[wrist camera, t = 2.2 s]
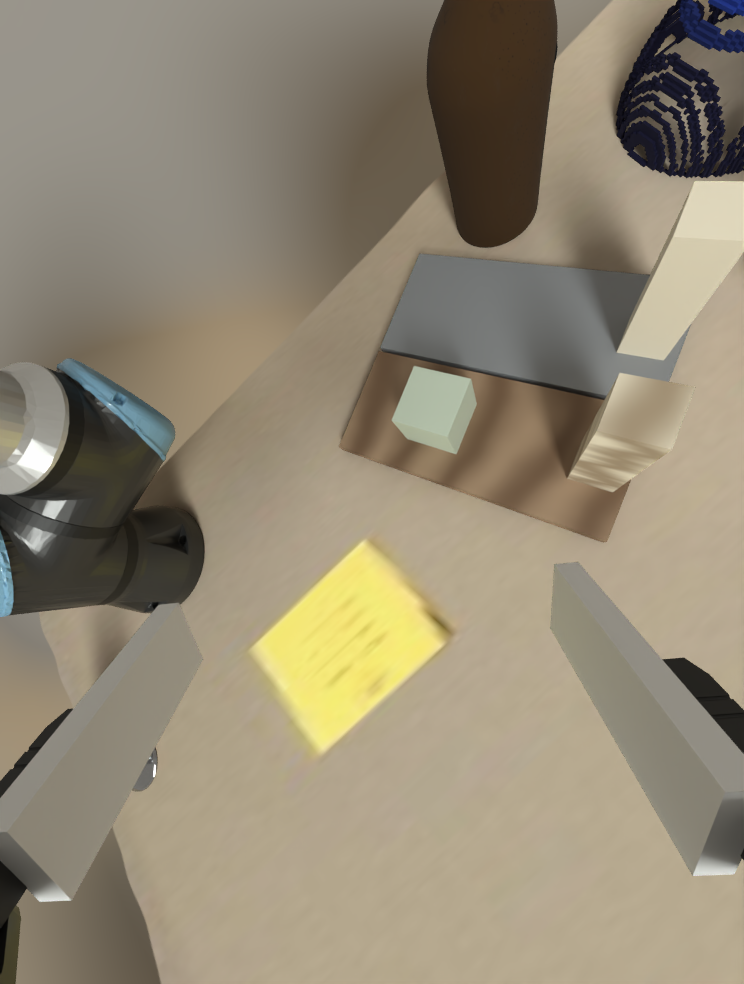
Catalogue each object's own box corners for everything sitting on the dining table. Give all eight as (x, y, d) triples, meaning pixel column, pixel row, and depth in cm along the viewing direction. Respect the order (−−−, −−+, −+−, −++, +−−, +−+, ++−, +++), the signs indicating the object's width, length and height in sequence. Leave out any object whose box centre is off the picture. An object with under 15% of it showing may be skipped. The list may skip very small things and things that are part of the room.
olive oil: (481, 269, 45) (449, -38, 22) (437, 219, 49) (369, -91, 26) (562, 209, 43) (620, -202, 20) (509, 161, 46) (506, -235, 23)
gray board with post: (384, 353, 48) (328, 263, 33) (422, 262, 48) (383, 135, 34) (653, 412, 36) (746, 312, 21) (700, 291, 36) (822, 113, 22)
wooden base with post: (343, 450, 47) (270, 400, 33) (382, 357, 47) (326, 268, 33) (603, 542, 35) (664, 527, 21) (651, 417, 36) (743, 320, 21)
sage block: (407, 438, 43) (391, 420, 37) (426, 391, 43) (414, 365, 37) (456, 454, 40) (447, 436, 35) (476, 404, 40) (471, 378, 35)
